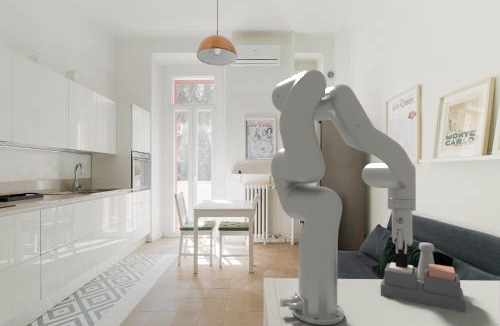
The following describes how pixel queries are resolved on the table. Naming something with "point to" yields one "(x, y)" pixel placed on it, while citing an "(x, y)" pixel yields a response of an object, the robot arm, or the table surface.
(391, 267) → the ivory key
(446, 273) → the terracotta key
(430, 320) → the table surface
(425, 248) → the salt shaker
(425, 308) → the table surface
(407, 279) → the key panel
